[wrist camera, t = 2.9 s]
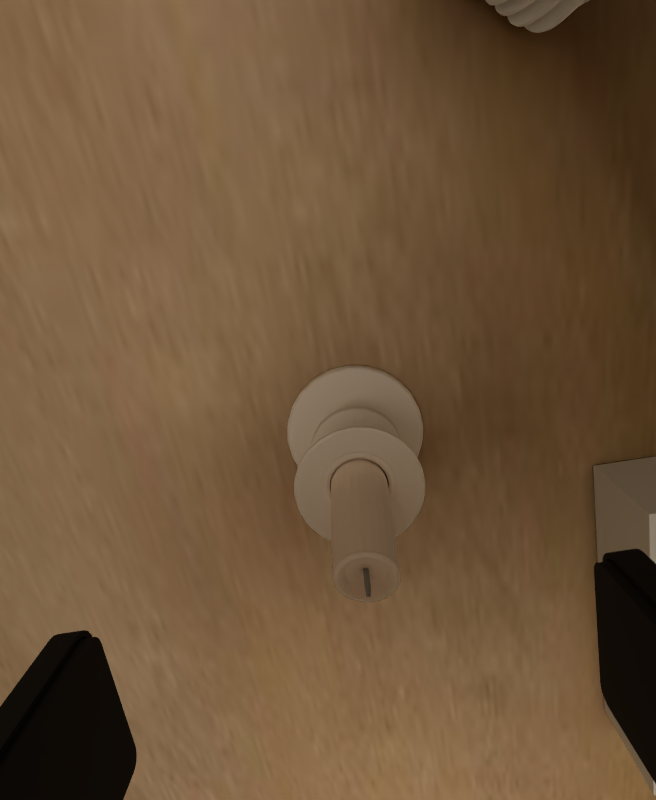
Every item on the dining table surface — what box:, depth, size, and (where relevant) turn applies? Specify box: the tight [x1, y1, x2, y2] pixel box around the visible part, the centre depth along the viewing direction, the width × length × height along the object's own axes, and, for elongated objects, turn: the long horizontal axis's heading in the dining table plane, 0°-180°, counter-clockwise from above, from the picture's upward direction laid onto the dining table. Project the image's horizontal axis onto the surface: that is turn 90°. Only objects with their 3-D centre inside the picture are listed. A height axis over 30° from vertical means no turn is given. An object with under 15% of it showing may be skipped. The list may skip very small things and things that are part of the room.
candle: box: [287, 365, 425, 602], centre depth 16 cm, size 5×5×10 cm
